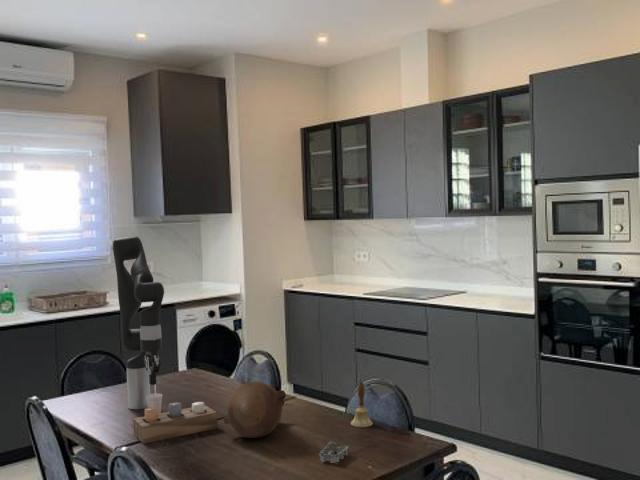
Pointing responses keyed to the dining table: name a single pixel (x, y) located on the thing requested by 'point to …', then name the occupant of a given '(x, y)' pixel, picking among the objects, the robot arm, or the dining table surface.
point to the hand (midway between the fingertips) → (152, 384)
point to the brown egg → (151, 414)
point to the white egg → (198, 407)
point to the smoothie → (154, 400)
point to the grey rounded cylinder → (175, 410)
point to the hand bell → (361, 411)
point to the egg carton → (332, 452)
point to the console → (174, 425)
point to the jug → (255, 409)
